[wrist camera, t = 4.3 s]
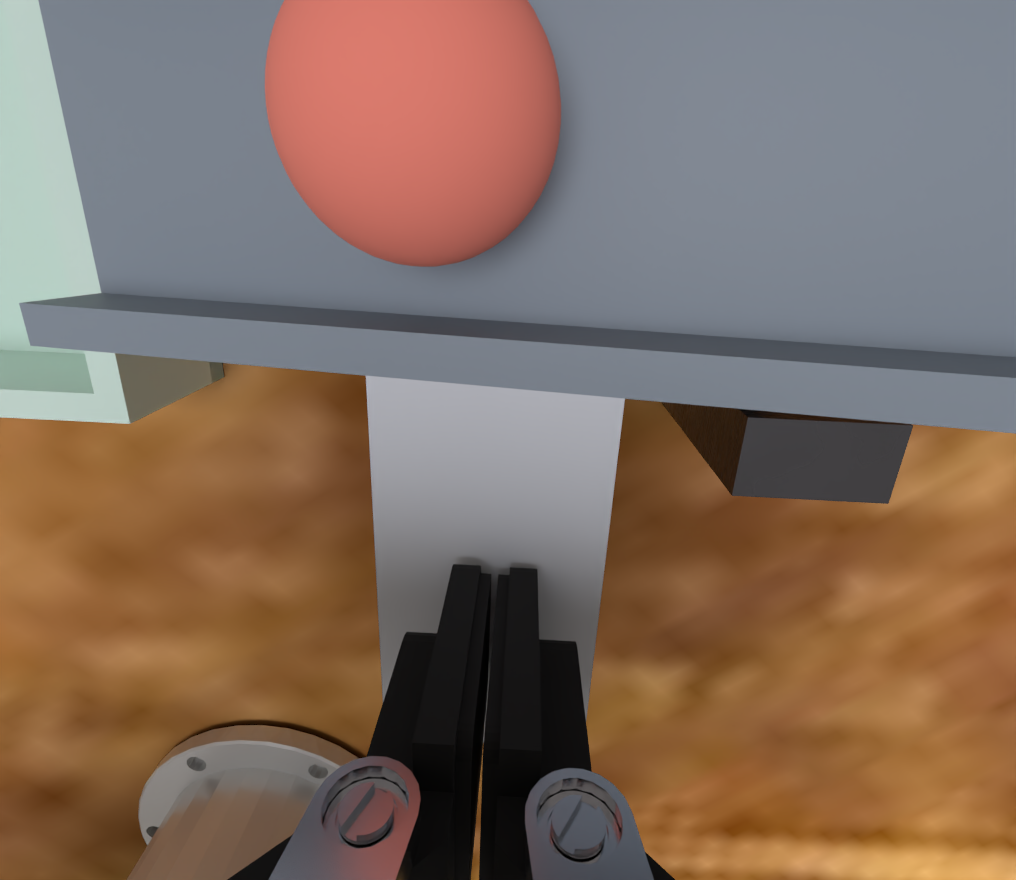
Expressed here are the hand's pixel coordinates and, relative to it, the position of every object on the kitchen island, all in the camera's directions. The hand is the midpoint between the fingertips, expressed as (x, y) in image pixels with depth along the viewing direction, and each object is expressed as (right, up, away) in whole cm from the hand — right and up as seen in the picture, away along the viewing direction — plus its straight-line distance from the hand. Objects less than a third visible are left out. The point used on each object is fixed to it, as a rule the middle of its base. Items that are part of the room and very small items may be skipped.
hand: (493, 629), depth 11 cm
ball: (-1, +8, -3) cm, 9 cm away
